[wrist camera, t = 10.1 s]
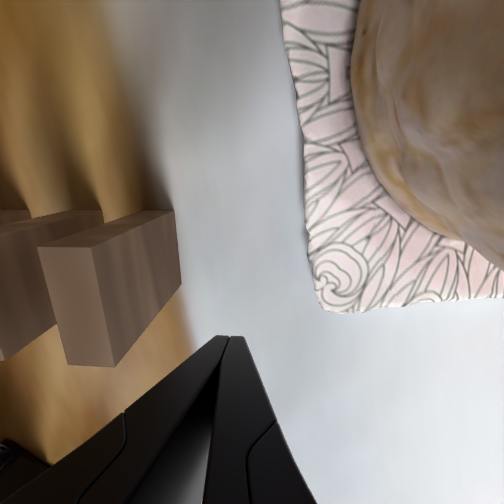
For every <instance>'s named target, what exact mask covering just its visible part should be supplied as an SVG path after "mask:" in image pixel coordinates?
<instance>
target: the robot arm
mask: <svg viewBox="0 0 504 504" xmlns="http://www.w3.org/2000/svg"><path fill="white" fill-rule="evenodd" d="M202 498H203V500H202ZM201 502H202V504H317V502H316V500H315V499H314V497H313V495H312V493H311V491H310V489H309V488H308V486H307V484H306V482H305V480H304V478H303V476H302V474H301V472H300V470H299V468H298V466H297V464H296V463H295V461H294V458H293V456H292V454H291V452H290V449H289V447H288V445H287V442H286V440H285V438H284V435H283V433H282V430H281V428H280V425H279V424H278V421H277V418H276V416H275V413H274V411H273V408H272V406H271V403H270V401H269V398H268V396H267V393H266V391H265V388H264V385H263V383H262V380H261V378H260V375H259V373H258V370H257V368H256V365H255V363H254V360H253V358H252V355H251V353H250V350H249V348H248V345H247V343H246V340H245V338H244V337H243V336H231V337H229V336H222V335H216V336H214V337H213V338H212V339H211V340H210V341H208V342H207V343H206V344H205V345H203V346H202V347H201V348H200V349H199V350H197V351H196V352H195V353H194V354H193V355H191V356H190V357H189V358H188V359H186V360H185V361H184V362H183V363H182V364H180V365H179V366H178V367H177V368H175V369H174V370H173V371H172V372H171V373H169V374H168V375H167V376H166V377H164V378H163V379H162V380H161V381H160V382H158V383H157V384H156V385H155V386H154V387H152V388H151V389H150V390H149V391H147V392H146V393H145V394H144V395H143V396H141V397H140V398H139V399H138V400H136V401H135V402H134V403H133V404H132V405H130V406H129V407H128V408H127V409H126V410H125V411H124V413H120V414H119V415H118V416H117V417H116V418H114V419H113V420H112V421H111V422H109V423H108V424H107V425H106V426H105V427H103V428H102V429H101V430H99V431H98V432H97V433H96V434H94V435H93V436H92V437H91V438H89V439H88V440H87V441H85V442H84V443H83V444H81V445H80V446H79V447H77V448H76V449H75V450H73V451H72V452H71V453H69V454H68V455H66V456H65V457H64V458H62V459H61V460H60V461H58V462H57V463H56V464H54V465H53V466H51V467H50V468H48V467H46V466H45V465H43V464H42V463H40V462H39V461H37V460H36V459H35V458H33V457H32V456H30V455H29V454H27V453H26V452H24V451H23V450H21V449H20V448H18V447H17V446H15V445H14V444H12V443H11V442H9V441H8V440H3V441H2V442H1V443H0V504H201Z"/></svg>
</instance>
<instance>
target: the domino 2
mask: <svg viewBox="0 0 504 504" xmlns="http://www.w3.org/2000/svg"><path fill="white" fill-rule="evenodd" d="M37 250H38V254H39V257H40V261H41V265H42V269H43V272H44V276H45V280H46V284H47V288H48V291H49V295H50V299H51V303H52V306H53V310H54V314H55V318H56V322H57V325H58V329H59V333H60V337H61V340H62V344H63V348H64V352H65V356H66V359H67V363H68V365H80V366H98V367H116V365H117V364H118V363H119V362H120V360H121V359H122V358H123V357H124V355H125V354H126V353H127V352H128V350H129V349H130V348H131V347H132V345H133V344H134V343H135V342H136V340H137V339H138V338H139V337H140V335H141V334H142V333H143V332H144V330H145V329H146V328H147V327H148V325H149V324H150V323H151V322H152V320H153V319H154V318H155V317H156V315H157V314H158V313H159V312H160V310H161V309H162V308H163V307H164V305H165V304H166V303H167V302H168V300H169V299H170V298H171V297H172V295H173V294H174V293H175V292H176V290H177V289H178V288H179V287H180V285H181V274H180V264H179V254H178V243H177V233H176V223H175V213H174V210H143V211H140V212H137V213H134V214H131V215H128V216H125V217H122V218H120V219H117V220H114V221H111V222H108V223H105V224H102V225H99V226H96V227H93V228H90V229H87V230H85V231H82V232H79V233H76V234H73V235H70V236H67V237H64V238H61V239H58V240H55V241H52V242H50V243H47V244H44V245H41V246H38V247H37Z"/></svg>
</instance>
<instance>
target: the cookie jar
mask: <svg viewBox="0 0 504 504" xmlns="http://www.w3.org/2000/svg"><path fill="white" fill-rule="evenodd" d="M280 11H281V18H282V25H283V34H284V45H285V51H286V54H287V57H288V61H289V65H290V69H291V73H292V78H293V82H294V86H295V90H296V100H297V113H298V119H299V123H300V126H301V128H302V131H303V133H304V155H303V158H304V167H305V174H304V214H305V224H306V229H307V231H308V232H309V242H308V251H307V256H308V260H309V262H310V264H311V266H312V277H313V280H314V289H315V292H316V294H317V297H318V301H319V304H320V306H321V307H322V308H323V309H325V310H327V311H329V312H332V313H336V314H344V313H355V312H357V311H359V312H362V313H364V312H366V311H370V310H372V309H374V308H381V307H385V308H389V307H404V306H408V305H412V304H416V303H419V302H439V301H460V300H467V299H471V298H504V0H280Z"/></svg>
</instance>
